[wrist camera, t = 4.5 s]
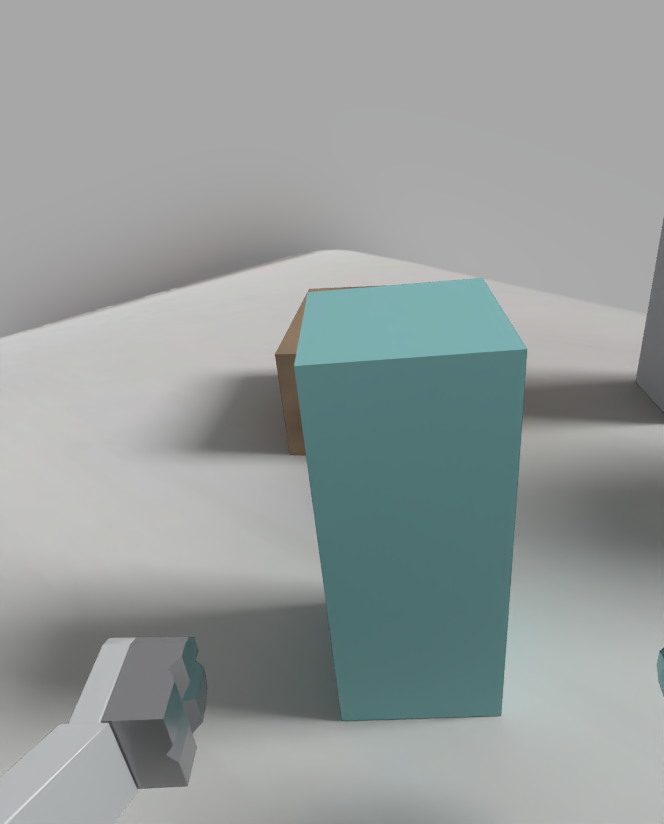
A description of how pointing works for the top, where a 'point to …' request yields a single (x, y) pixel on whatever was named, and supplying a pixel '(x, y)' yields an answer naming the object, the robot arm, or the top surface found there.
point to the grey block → (654, 337)
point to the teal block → (413, 490)
